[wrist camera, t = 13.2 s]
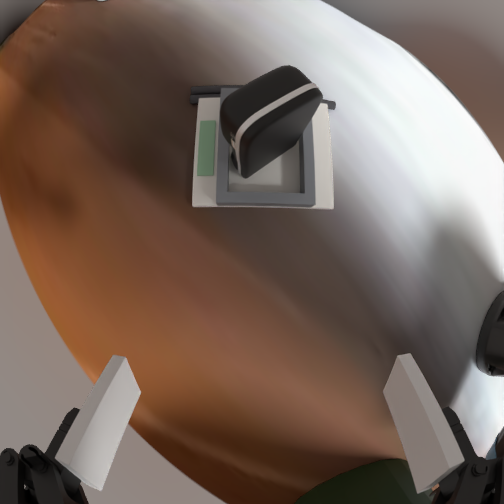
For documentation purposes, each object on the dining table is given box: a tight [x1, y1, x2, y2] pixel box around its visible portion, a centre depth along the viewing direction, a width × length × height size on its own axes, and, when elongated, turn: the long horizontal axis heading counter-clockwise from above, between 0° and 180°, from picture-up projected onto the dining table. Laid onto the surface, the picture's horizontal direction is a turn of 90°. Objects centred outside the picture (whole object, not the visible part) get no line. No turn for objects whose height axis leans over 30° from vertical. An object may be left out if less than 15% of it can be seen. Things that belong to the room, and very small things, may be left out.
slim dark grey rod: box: [190, 85, 336, 110], centre depth 26 cm, size 16×2×1 cm, turn 89°
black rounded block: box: [220, 65, 323, 179], centre depth 20 cm, size 7×4×11 cm, turn 127°
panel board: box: [192, 88, 334, 210], centre depth 25 cm, size 14×12×3 cm
